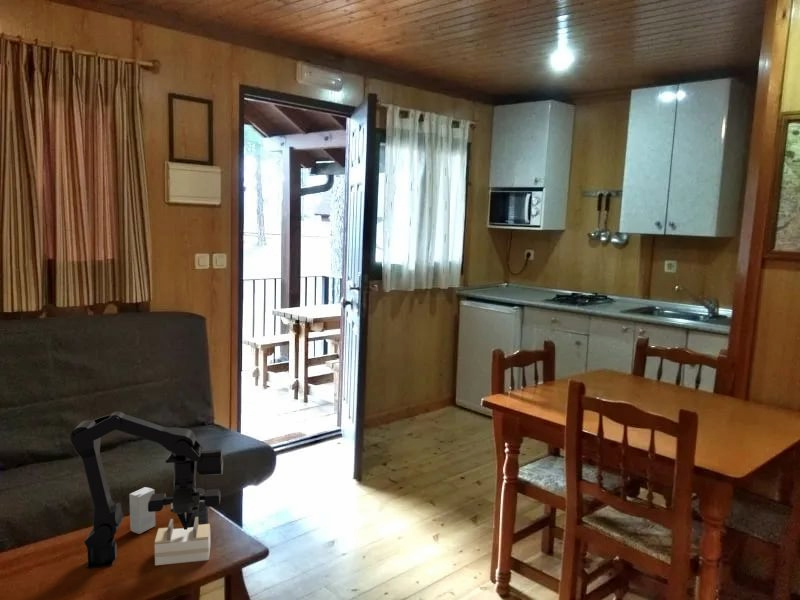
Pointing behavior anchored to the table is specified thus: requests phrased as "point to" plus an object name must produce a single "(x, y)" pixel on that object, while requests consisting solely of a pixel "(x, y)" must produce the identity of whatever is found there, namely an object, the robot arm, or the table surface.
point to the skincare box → (141, 510)
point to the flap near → (165, 533)
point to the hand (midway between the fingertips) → (185, 529)
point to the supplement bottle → (200, 512)
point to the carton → (182, 548)
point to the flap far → (200, 530)
